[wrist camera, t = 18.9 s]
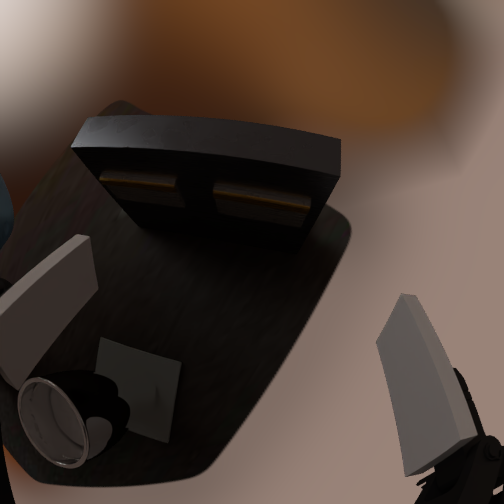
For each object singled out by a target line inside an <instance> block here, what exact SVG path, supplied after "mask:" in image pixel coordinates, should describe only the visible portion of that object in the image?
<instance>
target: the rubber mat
mask: <svg viewBox="0 0 504 504" xmlns="http://www.w3.org/2000/svg"><path fill="white" fill-rule="evenodd" d="M181 365H182V362H180V361H176V360H172V359H168V358H165V357H161V356H158V355H154V354H151V353H147V352H144V351H141V350H138V349H135V348H131V347H128V346H125V345H122V344H119V343H116V342H114V341H111V340H108V339H105V338H100V344H99V350H98V356H97V363H96V370H95V371H97V372H103V373H112V372H113V371H114V370H116V369H118V368H120V367H124V366H131V367H135V368H138V369H140V370H142V371H143V372H145V373H146V374H147V375H148V376H149V377H150V378H151V380H152V381H153V383H154V385H155V388H156V391H157V403H156V406H155V408H154V410H153V411H152V412H151V413H150V414H149V415H147V416H145V417H141V418H136V419H135V420H134V421H133V423H132V424H131V426H130V427H129V429H128V430H130V431H132V432H135V433H138V434H141V435H143V436H146V437H149V438H152V439H155V440H158V441H162V442H165V443H169V439H170V432H171V425H172V419H173V412H174V406H175V400H176V394H177V388H178V382H179V376H180V371H181Z"/></svg>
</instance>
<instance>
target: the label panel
mask: <svg viewBox="0 0 504 504" xmlns="http://www.w3.org/2000/svg"><path fill="white" fill-rule="evenodd" d="M71 148H72V149H73V151H74V152H75V153H76V154H77V156H78V157H79V158H80V159H81V161H82V162H83V163H84V164H85V166H86V167H87V168H88V169H89V170H90V172H91V173H92V174H93V175H94V176H95V178H96V179H97V180H98V181H99V182H100V183H101V185H102V186H103V187H104V188H105V189H106V191H107V192H108V193H109V194H110V195H111V196H112V197H113V199H114V200H115V201H116V202H117V203H118V204H119V205H120V207H121V208H122V209H123V210H124V211H125V212H126V213H127V214H128V215H129V217H130V218H131V219H132V220H133V221H134V222H135V223H136V224H137V225H138V226H140V227H146V228H152V229H158V230H164V231H170V232H175V233H181V234H187V235H193V236H198V237H204V238H210V239H215V240H221V241H227V242H232V243H238V244H244V245H249V246H255V247H261V248H266V249H272V250H277V251H283V252H289V253H294V254H297V253H298V251H299V249H300V248H301V246H302V244H303V242H304V241H305V239H306V237H307V235H308V234H309V232H310V230H311V228H312V227H313V225H314V223H315V221H316V220H317V218H318V216H319V214H320V212H321V211H322V209H323V207H324V205H325V203H326V202H327V200H328V198H329V196H330V194H331V193H332V191H333V189H334V187H335V185H336V183H337V182H338V180H339V178H340V171H341V170H340V169H341V139H337V138H333V137H328V136H324V135H320V134H315V133H310V132H306V131H301V130H295V129H290V128H284V127H278V126H272V125H266V124H259V123H252V122H244V121H236V120H226V119H216V118H204V117H187V116H163V115H162V116H161V115H128V116H103V117H89V118H88V119H87V120H86V122H85V124H84V125H83V127H82V128H81V130H80V132H79V133H78V135H77V137H76V138H75V140H74V142H73V144H72V146H71Z"/></svg>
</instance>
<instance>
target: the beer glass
mask: <svg viewBox="0 0 504 504" xmlns="http://www.w3.org/2000/svg"><path fill="white" fill-rule="evenodd" d="M156 403H157V391H156V388H155V385H154V383H153V381H152V380H151V378H150V377H149V376H148V375H147V374H146V373H145V372H143V371H142V370H140V369H138V368H135V367H131V366H124V367H120V368H118V369H116V370H114V371H113V372H112V373H103V372H97V371H89V370H69V371H62V372H56V373H52V374H48V375H44V376H40V377H32V378H30V379H28V380H26V381H25V382H24V383H23V385H22V386H21V388H20V391H19V394H18V412H19V417H20V420H21V423H22V426H23V429H24V431H25V433H26V435H27V436H28V438H29V440H30V441H31V443H32V444H33V445H34V447H35V448H36V449H37V450H38V451H39V452H40V453H41V454H42V455H43V456H44V457H45V458H46V459H48V460H49V461H50V462H52V463H54V464H56V465H58V466H60V467H64V468H76V467H79V466H81V465H82V464H84V463H86V462H88V461H90V460H92V459H94V458H96V457H98V456H100V455H101V454H103V453H105V452H106V451H108V450H109V449H111V448H112V447H113V446H114V445H115V444H117V443H118V442H119V441H120V439H121V438H122V437H123V436H124V435H125V433H126V432H127V430H128V429H129V427H130V426H131V424H132V423H133V421H134V420H135V419H136V418H141V417H145V416H147V415H149V414H150V413H151V412H152V411H153V410H154V408H155V406H156Z"/></svg>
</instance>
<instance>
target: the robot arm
mask: <svg viewBox="0 0 504 504" xmlns="http://www.w3.org/2000/svg"><path fill="white" fill-rule="evenodd" d="M13 225H14V212H13V206H12V202H11V199H10V195H9V192H8V190H7V188H6V185H5V183H4V180H3V178H2V176H1V174H0V250H1V248H2V247H3V245H4V244H5V242H6V241H7V239H8V238H9V236H10V235H11V232H12V229H13ZM98 289H99V288H98V283H97V278H96V273H95V267H94V261H93V255H92V249H91V242H90V237H89V236H84V235H79V234H77V235H76V236H74V237H73V238H71V239H70V240H69V241H67V242H66V243H65V244H63V245H62V246H61V247H59V248H58V249H57V250H56V251H54V252H53V253H52V254H50V255H49V256H48V257H47V258H45V259H44V260H43V261H42V262H40V263H39V264H38V265H37V266H35V267H34V268H33V269H32V270H31V271H30V272H28V273H27V274H26V275H25V276H24V277H22V278H21V279H20V280H19V281H18V282H17V283H16V284H15V285H13V286H12V285H11V283H9V282H8V281H7V280H5V279H3V278H0V375H2V377H3V378H4V379H5V381H6V382H7V383H9V384H10V385H11V386H12V387H14V388H15V389H16V390H19V388H20V387H21V386H22V384H23V383H24V381H25V380H26V378H27V377H28V376H29V374H30V373H31V371H32V370H33V369H34V367H35V366H36V364H37V363H38V362H39V360H40V359H41V358H42V356H43V355H44V354H45V352H46V351H47V350H48V349H49V347H50V346H51V345H52V343H53V342H54V341H55V340H56V338H57V337H58V336H59V335H60V333H61V332H62V331H63V330H64V328H65V327H66V326H67V325H68V324H69V322H70V321H71V320H72V319H73V318H74V316H75V315H76V314H77V313H78V312H79V310H80V309H81V308H82V307H83V306H84V305H85V304H86V302H87V301H88V300H89V299H90V298H91V297H92V296H93V294H94V293H95V292H96V291H97V290H98ZM376 344H377V347H378V350H379V354H380V358H381V361H382V365H383V369H384V373H385V377H386V381H387V385H388V388H389V392H390V397H391V401H392V405H393V410H394V415H395V419H396V425H397V429H398V435H399V441H400V446H401V452H402V459H403V465H404V472H405V477H408V476H412V475H417V474H421V473H424V472H425V471H427V470H429V469H430V468H432V467H434V469H435V472H433V473H432V474H430V475H428V476H426V477H425V478H423V479H421V480H420V481H419V482H418V483H417V484H416V485H417V486H419V485H421V484H423V483H424V482H426V484H425V485H423V486H422V487H421V488H422V489H423V490H422V491H421V493H420V495H419V497H418V498H417V500H416V502H415V503H414V504H504V446H501V444H500V442H499V440H498V439H496V438H495V437H494V436H491V435H489V436H486V435H485V432H484V430H483V427H482V424H481V421H480V418H479V415H478V412H477V410H476V407H475V404H474V402H473V401H472V397H471V394H470V392H468V387H467V384H466V382H465V380H464V378H463V376H462V375H461V374H460V373H459V371H458V370H457V369H456V368H452V365H451V364H450V361H449V359H448V357H447V355H446V352H445V350H444V348H443V346H442V344H441V342H440V340H439V338H438V336H437V334H436V332H435V330H434V328H433V326H432V324H431V322H430V320H429V318H428V317H427V315H426V313H425V311H424V309H423V307H422V306H421V304H420V302H419V300H418V298H417V297H416V296H415V295H408V294H401V295H400V297H399V299H398V301H397V303H396V305H395V307H394V309H393V311H392V313H391V315H390V317H389V319H388V321H387V323H386V325H385V327H384V329H383V330H382V332H381V334H380V336H379V337H378V339H377V341H376ZM502 484H503V491H501V492H499V493H498V494H496V495H493V490H494V489H496V488H497V487H499V486H501V485H502ZM0 504H15V501H14V498H13V494H12V490H11V486H10V482H9V477H8V473H7V468H6V462H5V456H4V451H3V443H2V434H1V424H0Z"/></svg>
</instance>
